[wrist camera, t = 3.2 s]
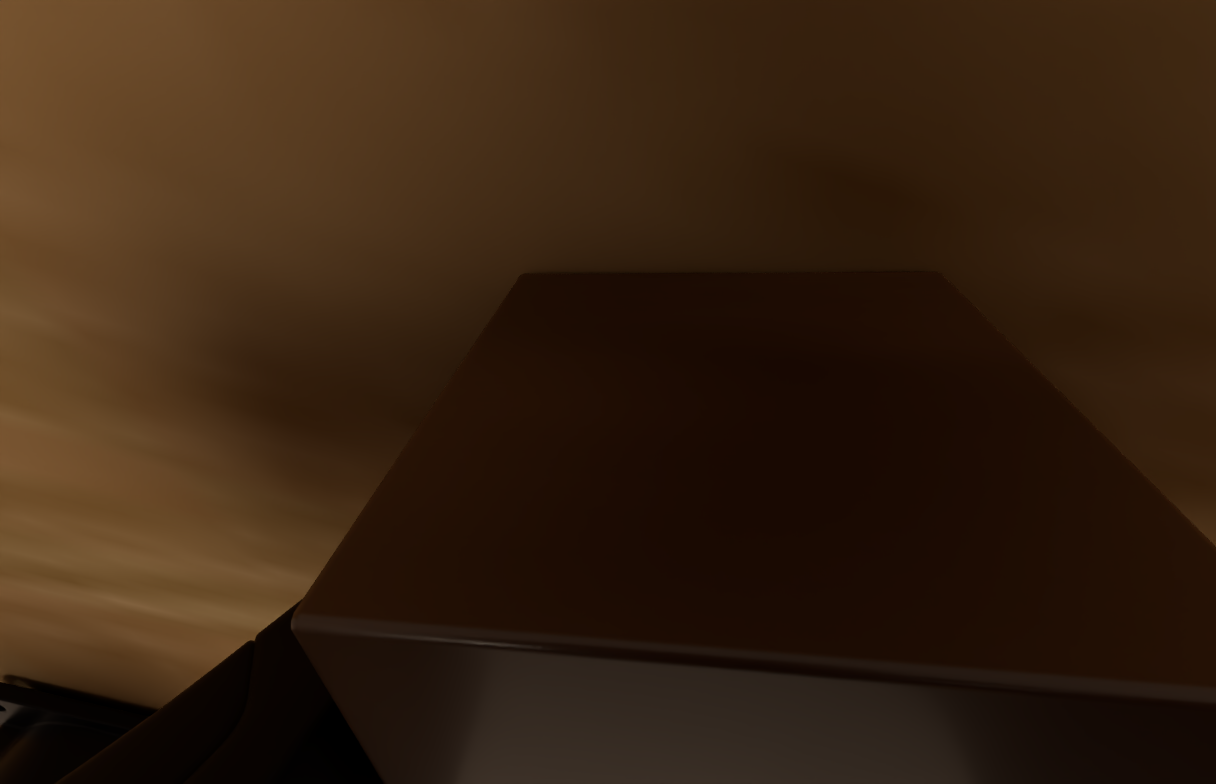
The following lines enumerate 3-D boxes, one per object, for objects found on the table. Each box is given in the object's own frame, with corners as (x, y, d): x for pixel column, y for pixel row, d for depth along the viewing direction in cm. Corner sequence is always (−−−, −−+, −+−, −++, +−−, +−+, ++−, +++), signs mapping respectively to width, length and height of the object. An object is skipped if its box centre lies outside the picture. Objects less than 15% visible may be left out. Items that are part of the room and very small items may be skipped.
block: (558, 543, 10) (463, 924, 6) (518, 271, 7) (279, 623, 3) (858, 561, 9) (997, 1006, 5) (941, 269, 6) (1401, 716, 2)
